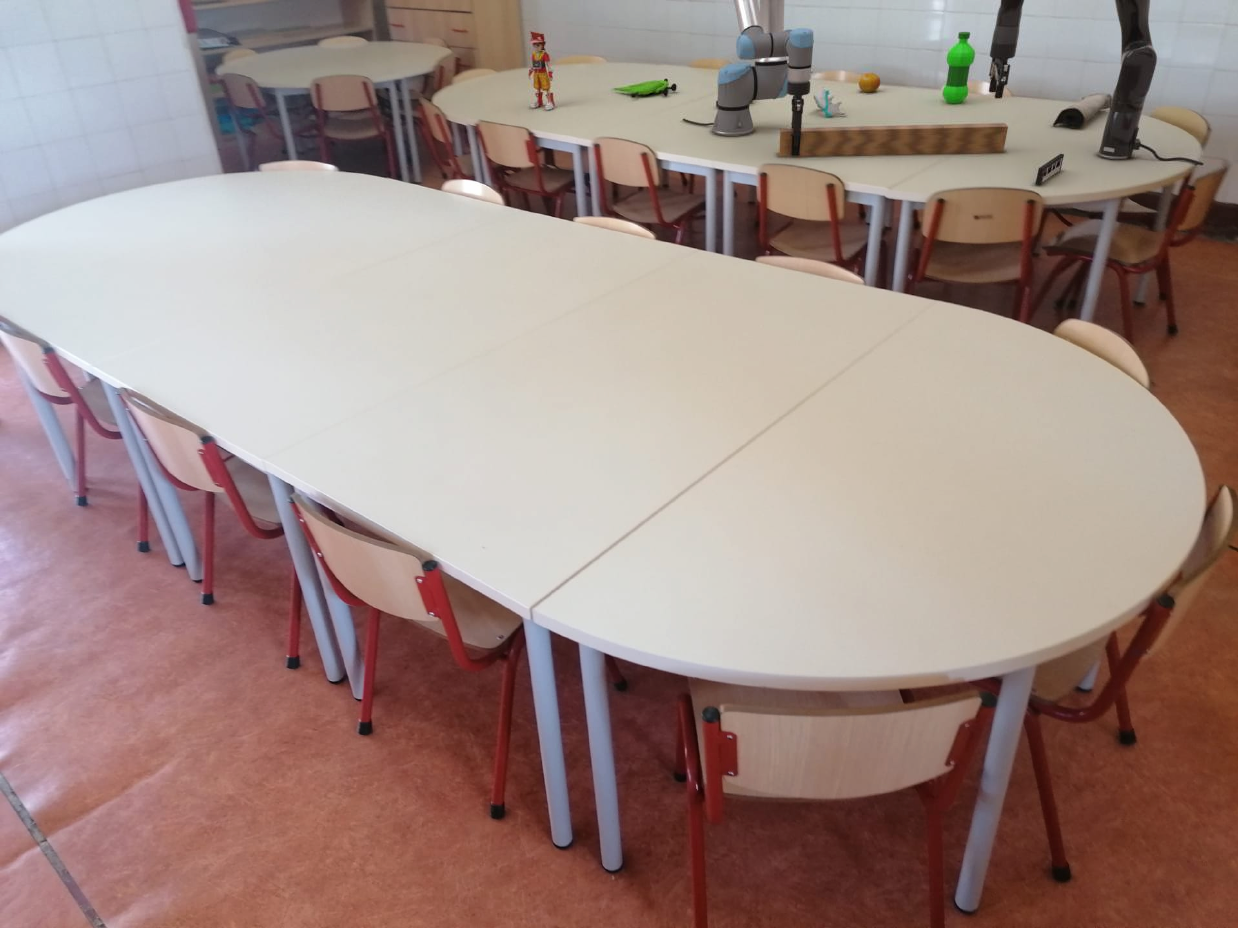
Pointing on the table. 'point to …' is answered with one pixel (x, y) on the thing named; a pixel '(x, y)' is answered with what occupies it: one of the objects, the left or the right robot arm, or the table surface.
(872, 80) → the fruit
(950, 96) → the plastic bottle
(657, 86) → the toy
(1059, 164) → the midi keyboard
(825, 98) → the anatomical model
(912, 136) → the wooden plank
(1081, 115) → the rolled mat
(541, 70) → the toy
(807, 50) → the left robot arm
